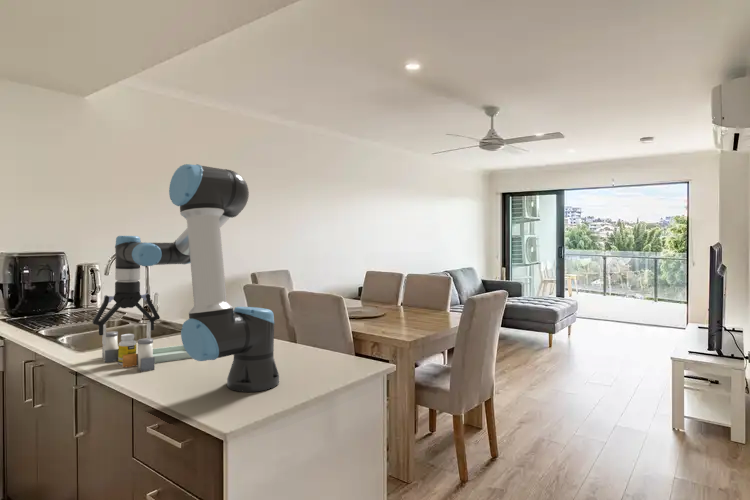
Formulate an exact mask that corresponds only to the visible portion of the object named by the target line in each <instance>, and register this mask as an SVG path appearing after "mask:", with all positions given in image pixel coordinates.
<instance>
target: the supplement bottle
mask: <svg viewBox="0 0 750 500" xmlns="http://www.w3.org/2000/svg"><path fill="white" fill-rule="evenodd" d="M120 340H121V341H119V343H118V361H117V362H118V363H117V364H118V365H120V366H123V355H126V354H135V353H136V354H137V341H136V340H135V334H134V333H125V334H121V335H120Z"/></svg>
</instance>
